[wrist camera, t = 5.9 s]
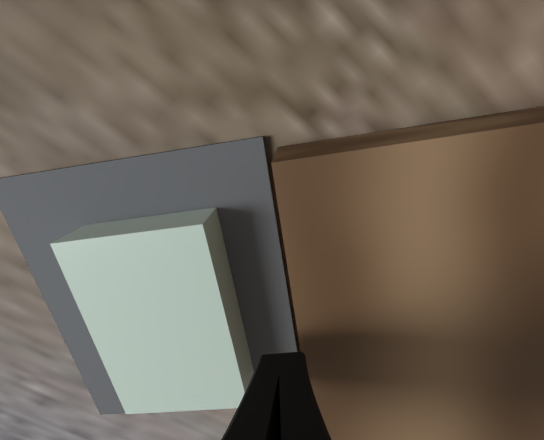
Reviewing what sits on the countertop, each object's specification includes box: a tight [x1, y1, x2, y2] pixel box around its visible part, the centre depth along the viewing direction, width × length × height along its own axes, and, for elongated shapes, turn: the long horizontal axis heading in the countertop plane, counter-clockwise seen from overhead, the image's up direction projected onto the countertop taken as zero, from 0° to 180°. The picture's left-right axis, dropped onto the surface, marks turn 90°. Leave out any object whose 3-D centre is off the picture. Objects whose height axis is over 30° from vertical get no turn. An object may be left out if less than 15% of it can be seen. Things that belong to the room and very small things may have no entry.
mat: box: [0, 136, 298, 414], centre depth 14 cm, size 12×14×1 cm
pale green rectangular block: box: [50, 207, 254, 414], centre depth 13 cm, size 6×9×2 cm, turn 9°
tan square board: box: [271, 106, 544, 440], centre depth 11 cm, size 15×13×4 cm
